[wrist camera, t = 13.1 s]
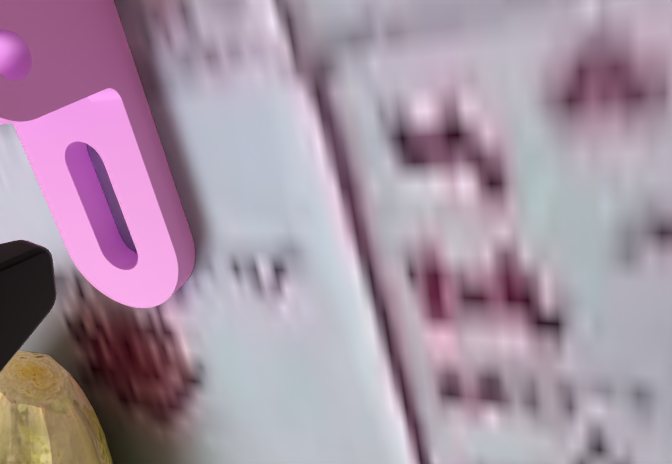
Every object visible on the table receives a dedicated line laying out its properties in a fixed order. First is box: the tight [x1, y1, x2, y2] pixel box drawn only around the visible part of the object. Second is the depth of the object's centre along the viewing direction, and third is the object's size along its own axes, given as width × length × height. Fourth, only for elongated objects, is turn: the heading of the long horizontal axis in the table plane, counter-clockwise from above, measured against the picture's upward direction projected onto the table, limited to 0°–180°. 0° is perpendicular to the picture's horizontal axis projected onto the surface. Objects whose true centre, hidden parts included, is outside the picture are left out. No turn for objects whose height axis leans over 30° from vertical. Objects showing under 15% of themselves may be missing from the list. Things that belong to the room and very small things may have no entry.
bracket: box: [0, 0, 195, 308], centre depth 23 cm, size 13×6×7 cm, turn 13°
